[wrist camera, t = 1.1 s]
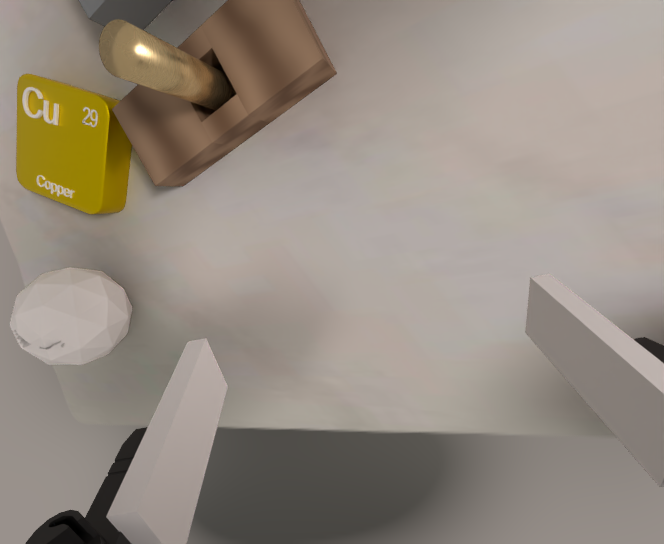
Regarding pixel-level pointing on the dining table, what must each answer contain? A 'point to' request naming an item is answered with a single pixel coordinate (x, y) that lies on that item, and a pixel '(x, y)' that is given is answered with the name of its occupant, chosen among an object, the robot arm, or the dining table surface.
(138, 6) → the seat block
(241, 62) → the beam
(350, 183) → the dining table surface
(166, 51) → the golden rounded rod
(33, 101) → the element tile
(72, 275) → the geodesic sphere
